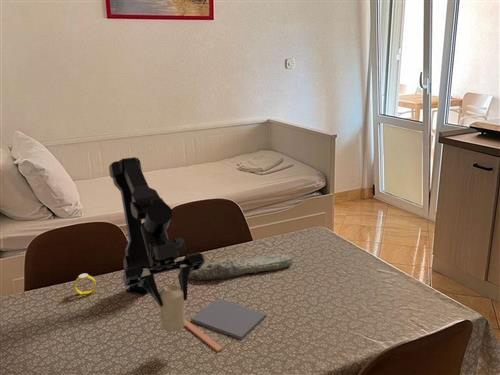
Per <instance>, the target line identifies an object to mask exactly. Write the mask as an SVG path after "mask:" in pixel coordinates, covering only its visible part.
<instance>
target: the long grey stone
mask: <svg viewBox="0 0 500 375" xmlns="http://www.w3.org/2000/svg"><path fill="white" fill-rule="evenodd" d="M292 263H293V259H292V256H291V255H289V254H281V253H280V254H279V253H274V254H268V255H256V256H255V255H254V256H250V257H249V256H248V257H243V258H242V257H237V258H235V257H224V258H220V259H219V258H218V259H215V260H213V259H212V260H210V261H207V262H206V261H205V262H204V263H203V265H202V267H201V268H200V269H198V270H195V271H192V272H191V273H190V275H189V276H188V279H189V278H190V279H192V280H205V281H207V280H209V281H211V280H217V279H220V280H223V279H229V278H230V277H237V276H242V275H245V274H248V273H249V274H250V273H251V274H252V273H254V274H256V273H259V272H266V271H267V272H268V271H275V270H276V271H277V270H281V269H286V268H288V267H290V266H292Z"/></svg>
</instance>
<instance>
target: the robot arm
mask: <svg viewBox="0 0 500 375" xmlns="http://www.w3.org/2000/svg"><path fill="white" fill-rule="evenodd" d="M141 164H142V163H141V159H139V157H136V156H134V157H126V158H122V159H119V160H118V161H117V160H116V161H112V163H110V165H109V166H108V170H109V176H110V178H112V182H113V185H114V186H115V187H116V188H117V189H118V190H119V192H120V196H121V201H122V206H123V212H124V220H125V224H126V230H127V236H128V243H127V245H126V247H125V250H124V253H125V255H124V258H123V261H122V264H123V270H124V272H123V275H122V280H123V285H124V286H125V287H128V288H126V292H127V293H131V294H137V295H141V296H145V295H146V294H147V293H148V294H149V295H150V296H151V297H152V299H154V300H155V302H156V304H157V305H158V306H159V308H160V307H162V301H161V297H160V295H159V294H160V292H159V289H158V287H157V284H156V280H155V276H154V275H158V274H164V273H168V272H173V271H176V270H177V271H178V274H177V279H178V283H179V288H181V289H182V290H183V293H184V302H185V301H187V300H188V284H189V283H188V282H189V277H188V276H189V275H190V273H191V272H192V271H195V270H198V269H200V268H201V267H202V265H203V263H205V262H206V260H205V258H204V254H202V252H200V251H197V252H193V253H187V254H185V256H184V257H183V259H182V260H177V259H178V257H180V255H179V253H181V252H185V251H186V244H185V241H184V237H178V238H174V239H173V242H171V240H170V238H169V236H168V233H167V230H168V229H169V225H170V222H171V220H172V217H173V209H172V208H171V207H170V206H169V205H168V204H167V203H166V202H165V201H164V200H163V198H162V197H161V196H160V195H159V193H158V192H157V190H156V189H154V188H151V187H150V186H149V184H148V182H147V180H146V178H145V175H144V172H143V168H142V165H141ZM142 220H144V221H143V222H142ZM176 260H177V261H176Z"/></svg>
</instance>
